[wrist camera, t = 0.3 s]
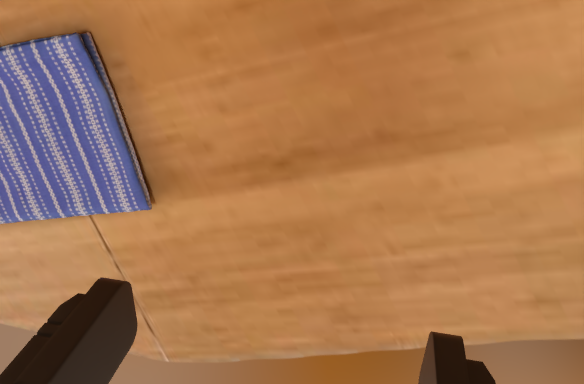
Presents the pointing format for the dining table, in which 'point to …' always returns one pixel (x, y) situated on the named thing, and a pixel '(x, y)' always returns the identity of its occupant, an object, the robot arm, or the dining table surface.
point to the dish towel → (63, 134)
